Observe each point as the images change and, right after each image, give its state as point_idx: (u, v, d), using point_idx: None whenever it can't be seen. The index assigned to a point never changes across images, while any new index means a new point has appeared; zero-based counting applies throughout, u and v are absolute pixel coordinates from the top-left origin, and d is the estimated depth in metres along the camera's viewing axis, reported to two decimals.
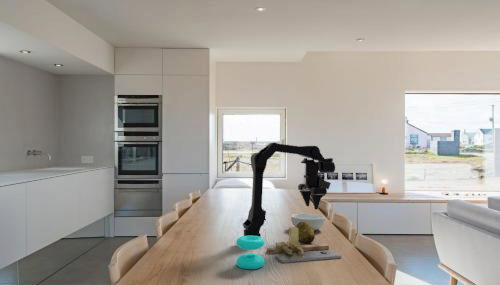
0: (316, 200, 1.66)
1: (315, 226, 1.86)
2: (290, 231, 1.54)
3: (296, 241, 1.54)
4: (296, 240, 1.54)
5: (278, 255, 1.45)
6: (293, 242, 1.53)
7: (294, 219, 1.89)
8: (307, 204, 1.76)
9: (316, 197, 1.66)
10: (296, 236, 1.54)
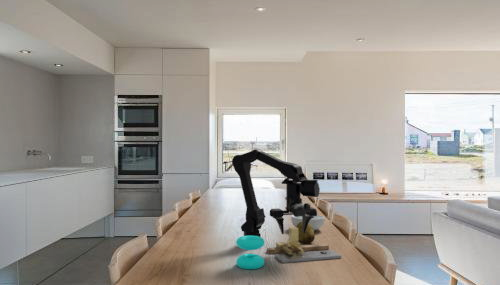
0: (279, 223, 1.54)
1: (315, 226, 1.86)
2: (290, 231, 1.54)
3: (296, 241, 1.54)
4: (296, 240, 1.54)
5: (278, 255, 1.45)
6: (293, 242, 1.53)
7: (294, 219, 1.89)
8: (303, 230, 1.56)
9: None
10: (296, 236, 1.54)
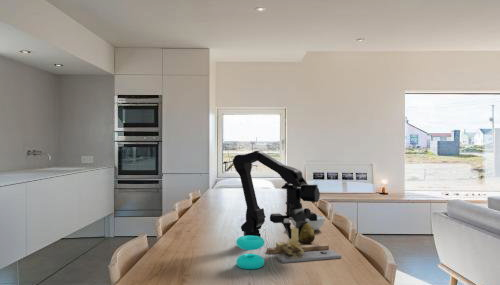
0: (286, 228, 1.55)
1: (315, 226, 1.86)
2: None
3: (296, 241, 1.54)
4: (296, 240, 1.54)
5: (278, 255, 1.45)
6: (293, 242, 1.53)
7: None
8: None
9: None
10: (296, 236, 1.54)
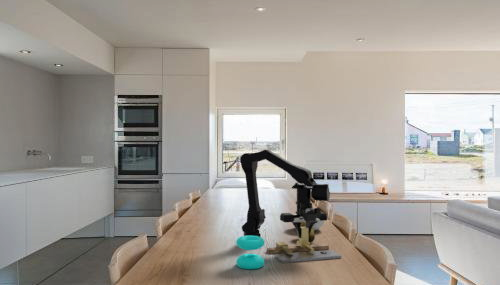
0: (296, 227, 1.56)
1: (315, 226, 1.86)
2: (301, 231, 1.55)
3: (306, 240, 1.55)
4: (306, 239, 1.55)
5: (278, 255, 1.45)
6: (303, 241, 1.54)
7: None
8: None
9: None
10: (306, 235, 1.55)
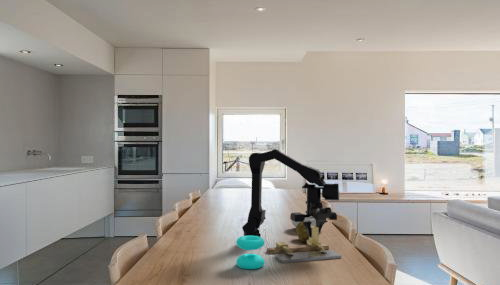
0: (306, 227, 1.57)
1: None
2: (311, 230, 1.56)
3: (316, 240, 1.56)
4: (316, 239, 1.56)
5: (278, 255, 1.45)
6: (313, 241, 1.55)
7: None
8: None
9: (306, 224, 1.57)
10: (316, 235, 1.56)
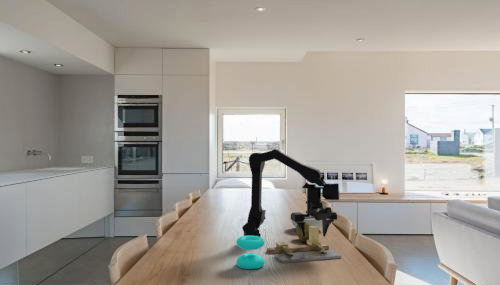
0: (300, 227, 1.56)
1: None
2: (311, 230, 1.56)
3: (316, 240, 1.56)
4: (316, 239, 1.56)
5: (278, 255, 1.45)
6: (313, 241, 1.55)
7: None
8: (323, 234, 1.59)
9: None
10: (316, 235, 1.56)
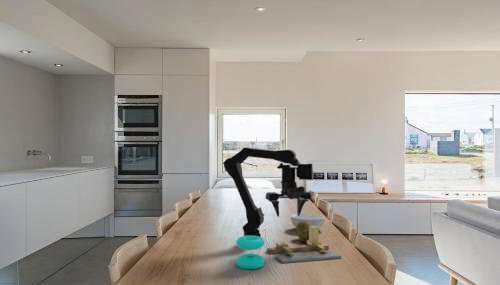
0: (275, 206, 1.60)
1: None
2: (311, 230, 1.56)
3: (316, 240, 1.56)
4: (316, 239, 1.56)
5: (278, 255, 1.45)
6: (313, 241, 1.55)
7: (294, 219, 1.89)
8: (298, 213, 1.62)
9: (275, 203, 1.60)
10: (316, 235, 1.56)
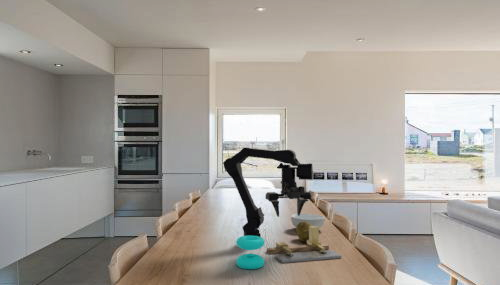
0: (275, 206, 1.60)
1: None
2: (311, 230, 1.56)
3: (316, 240, 1.56)
4: (316, 239, 1.56)
5: (278, 255, 1.45)
6: (313, 241, 1.55)
7: (294, 219, 1.89)
8: (297, 213, 1.62)
9: (275, 203, 1.60)
10: (316, 235, 1.56)
